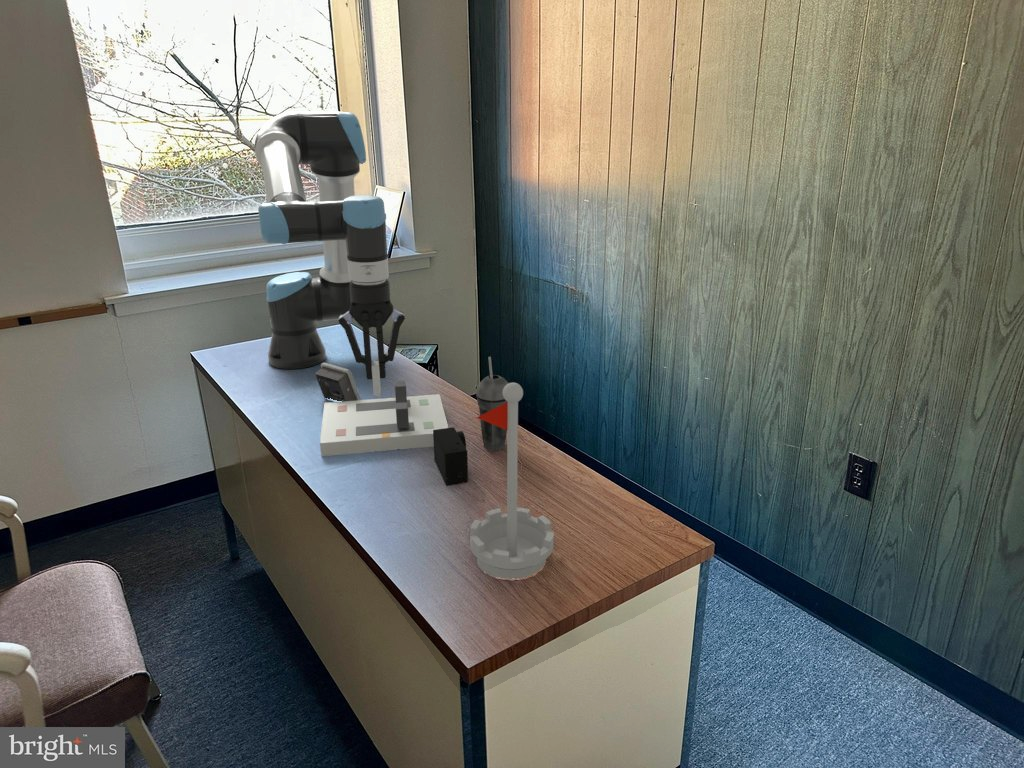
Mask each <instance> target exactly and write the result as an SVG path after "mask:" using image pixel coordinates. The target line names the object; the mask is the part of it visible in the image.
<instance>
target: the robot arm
mask: <svg viewBox="0 0 1024 768" xmlns="http://www.w3.org/2000/svg"><path fill="white" fill-rule="evenodd" d="M364 140H365V139H364V135H363V132H362V129H361V124H360V121H359V119H358V117H357V115H355V113H353V112H349V111H338V110H330V111H329V110H327V111H287V112H283V113H280V114H277V115H276V116H274V117H273V118H271V119H269V120H268V121H266V123H264V125H263V126H262V127H261V128H260V129H259V131H258V133H257V134H256V136H255V140H254V146H253V147H254V155H255V158H256V160H257V162H258V164H259V165H260V166H261V170H262V175H263V182H264V183H263V184H264V189H265V190H264V191H265V197H266V202H267V203H261V204H260V205H259V206H258V207H257V209H258V218H259V226H260V233H261V234H260V235H261V239H262V241H263V242H264V243H266V244H282V245H286V244H292V243H293V244H295V243H297V244H298V243H307V242H308V243H310V242H311V243H312V242H322V245H323V246H322V247H323V257H324V265H323V267H321V268H320V269H319V277H312V275H311V273H309V272H308V271H296V272H288V273H285V274H281V275H277V276H276V277H274V278H272V279H270V280H269V281H268V282H267V284H266V290H265V291H266V302H267V305H268V310H269V311H268V312H269V321H270V322H269V323H270V327H271V328H270V330H271V337H270V344H269V347H268V354H267V358H268V359H267V360H268V364H269V365H270V366H271V367H274V368H277V369H283V370H297V369H304V368H305V369H306V368H309V367H314V366H317V365H318V364H322V363H324V362H325V360H326V358H327V354H326V348H325V346H324V343H323V341H322V339H321V336H320V335H319V332H318V329H317V322H326V321H335V320H336V321H337V320H338V323H339V325H340V326H341V327H342V328H343V329H344V331H345V334H346V337H347V340H348V343H349V346H350V347H351V351H352V354H353V357H354V360H355V363H357V364H363V365H364V366H365V375H366V376H365V377H366V379H367V380H372V388H373V389H372V391H373V396H375V397H376V396H382V388H381V379H386V363H388V362H393V361H394V359H395V353H396V349H397V342H398V339H399V334H400V329H401V326H402V325H403V324H404V321H405V319H406V317H405V313H404V312H403V311H398V310H397V309H395V308H394V305H393V304H392V302H391V291H390V290H391V289H390V287H391V286H390V281H389V280H388V279H389V276H390V274H389V257H388V246H387V223H386V220H387V214H386V211H385V203H384V200H383V199H382V198H381V197H380V196H375V195H372V194H371V195H370V194H368V195H367V194H364V195H363V194H362V195H361V194H360V195H355V193H356V192H355V177H356V176H358V175H359V173H360V171H361V169H360V168H361V167H360V165H363V164H365V163H366V161H367V153H366V146H365V141H364ZM299 165H303V166H304V165H308V166H310V172H311V173H312V174H313V175H314V176H316V178H317V182H318V185H317V186H318V196H319V197H318V198H319V201H317V200H316V201H307V197H306V193H305V188H304V183H303V180H302V179H303V178H302V176H301V171H300V167H299ZM391 316H392V317H391ZM390 317H391V320H392V322H393V323H392V326H391V331H390V335H389V336H390V337H389V342H388V349H387V352H386V353H385V348H384V347H385V346H384V334H383V332H384V331H383V326H384V325H385V324H386V322H387V321H388V320H389V319H390ZM353 320H354V321H355V322H356V323H357V324H358V325H359V326H360V327H362V335H363V350H364V354H362V351H361V349H360V346H359V343H358V341H357V337H356V335H355V332H354V329H353V326H352V321H353ZM371 328H375V330H376V332H375V333H376V342H377V343H376V345H377V356H378V360H372V350H371V336H370V335H371V334H370V329H371Z"/></svg>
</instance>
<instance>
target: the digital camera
mask: <svg viewBox="0 0 1024 768" xmlns="http://www.w3.org/2000/svg"><path fill="white" fill-rule="evenodd" d="M433 441H434V447H433V456H434V457H433V460H434V462H435V465H436V467H437V470H438V472H439V474H440V476H441V478H442V480H443V483H444V484H445V486H446V487H448V486H449V487H450V486H456V485H460V484H467V483H468V482H469V474H468V473H469V470H468V467H469V464H468V463H469V462H468V459H469V458H468V449H467V440H466V436H465V433H464V431H463V430H459V431H457V430H456V428H455V427H453V426H452V427H448V428H444V429H437V430H433Z"/></svg>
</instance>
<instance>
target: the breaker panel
mask: <svg viewBox="0 0 1024 768" xmlns="http://www.w3.org/2000/svg"><path fill="white" fill-rule="evenodd" d="M342 401H343V400H342ZM395 403H396V399H395V397H387V398H371V399H361V400H356V401H343V402H331V401H329V402H324V404H323V413H322V414H323V415H322V422H321V431H320V440H319V445H320V447H319V448H320V454H321V455H320V456H321V457H331V456H342V455H354V454H364V453H375V452H374V451H377V452H387V450H389V451H398V450H397V449H400V450H408V449H410V448H411V449H421V448H431V447H433V448H434V441H433V430H437V429H444V428H449V424H448V422H447V418H446V414H445V409H444V406H443V402H442V399H441V395H440V394H439V393H438V394H426V395H424V394H423V395H413V396H411V395H410V396H407V406H408V419H409V428H401V429H397V421H396V406H395Z"/></svg>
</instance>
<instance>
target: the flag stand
mask: <svg viewBox="0 0 1024 768" xmlns="http://www.w3.org/2000/svg"><path fill="white" fill-rule="evenodd" d="M523 396H524V389H523V388H522V386H521V385H520V384H519V383H517V382H508V384H507V385H506V386H505V387H504V389H503V397H504V399H505V400H506V401H507V402H506V403H504V404H502V405H500V406H498V407H496V408H494V409H492V410H490V411H488V412H487V413H485V414H483V415H481V416H480V415H478V416H476V419H478V420H480V419H481V420H483V421H486V422H488V423H491V424H493V425H496V426H498V427H501V428H503V429H505V430H507V433H506V441H507V442H506V443H507V445H506V446H507V448H506V450H507V451H506V456H507V457H506V458H507V461H506V466H507V469H506V470H507V471H506V474H507V476H506V477H507V478H506V479H507V480H506V483H507V485H506V486H507V487H506V489H507V492H506V494H507V495H506V496H507V497H506V501H507V502H506V505H507V506H506V511H507V512H506V513H502V509H501V508H494V509H491V510H488V511H486V512H485V518H484V519H483V520H478V519H474V520H473V522H472V523H471V525H470V528H469V531H470V533H469V535H470V536H469V547H470V550H471V552H472V553H473V555H474V556H475V557H476V562H477V565H479V566H480V567H479V566H478V567H479V568H481V569H482V570H483V571H485V572H486V573H488V574H489V575H492V576H495V577H500V578H509V579H512V578H515V579H517V578H523V577H527V576H529V575H532V574H534V573H536V572H537V571H539V570H540V569H541V568H542V567H543V566H544V564H545V562H546V563H547V561H546V559H548V557H549V556H550V555H551V554H552V552H553V551H554V545H555V532H554V531H553V530H552V522H551V520H549V518H548V517H546V516H544V515H543V514H542V515H540V516H538V517H535V516H532V515H531V509H530V508H524V507H518V459H519V456H518V454H519V451H518V449H519V448H518V446H519V444H518V441H519V437H518V436H519V431H518V430H519V402H520V401H522V398H523ZM481 569H480V570H481ZM482 570H481V571H482ZM483 571H482V572H483ZM486 573H485V574H486ZM489 575H488V576H489Z"/></svg>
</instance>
